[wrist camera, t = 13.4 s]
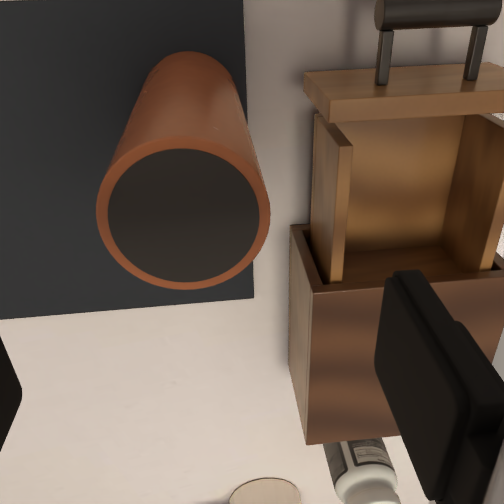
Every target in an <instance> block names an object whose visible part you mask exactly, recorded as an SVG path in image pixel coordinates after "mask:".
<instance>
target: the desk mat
mask: <svg viewBox="0 0 504 504" xmlns="http://www.w3.org/2000/svg"><path fill="white" fill-rule="evenodd" d="M183 51H194V52H200V53H203V54H206V55H208V56H210V57H212V58H214V59H215V60H217V61H218V62H219V63H221V64H222V65H223V66H224V67H225V68H226V69H227V71H228V72H229V73H230V75H231V77H232V79H233V80H234V83H235V85H236V88H237V92H238V95H239V99H240V102H241V105H242V109H243V112H244V116H245V119H246V122H247V126H248V120H247V94H246V67H245V40H244V13H243V0H22V1H0V320H2V319H14V318H26V317H37V316H49V315H61V314H73V313H85V312H97V311H108V310H120V309H132V308H144V307H156V306H167V305H179V304H191V303H203V302H215V301H226V300H238V299H250V298H254V282H253V261H252V262H251V263H250V264H249V265H248V266H247V267H246V268H245V269H243V270H242V271H241V272H240V273H238V274H237V275H235V276H234V277H232V278H230V279H228V280H226V281H224V282H222V283H219V284H216V285H214V286H210V287H206V288H200V289H190V290H180V289H170V288H165V287H161V286H157V285H154V284H151V283H149V282H146V281H144V280H142V279H140V278H138V277H136V276H134V275H133V274H131V273H130V272H129V271H127V270H126V269H125V268H124V267H122V266H121V265H120V264H119V263H118V262H117V261H116V260H115V258H114V257H113V256H112V255H111V254H110V252H109V251H108V249H107V247H106V246H105V244H104V242H103V240H102V238H101V235H100V232H99V229H98V226H97V219H96V202H97V195H98V192H99V189H100V186H101V183H102V181H103V178H104V176H105V174H106V171H107V169H108V167H109V164H110V162H111V160H112V157H113V155H114V153H115V150H116V148H117V146H118V143H119V141H120V139H121V136H122V134H123V132H124V129H125V127H126V125H127V122H128V120H129V118H130V115H131V113H132V111H133V108H134V106H135V104H136V101H137V99H138V97H139V94H140V92H141V90H142V87H143V85H144V83H145V80H146V78H147V76H148V74H149V73H150V71H151V70H152V68H153V67H154V66H155V65H156V64H157V63H158V62H159V61H160V60H162V59H163V58H165V57H167V56H169V55H171V54H174V53H177V52H183Z"/></svg>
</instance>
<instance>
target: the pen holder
mask: <svg viewBox="0 0 504 504" xmlns="http://www.w3.org/2000/svg"><path fill="white" fill-rule="evenodd" d="M270 214H271V213H270V203H269V199H268V194H267V191H266V187H265V184H264V181H263V177H262V174H261V170H260V167H259V163H258V160H257V157H256V153H255V150H254V146H253V143H252V140H251V136H250V133H249V129H248V126H247V122H246V119H245V116H244V112H243V109H242V105H241V102H240V99H239V95H238V92H237V88H236V85H235V83H234V80H233V79H232V77H231V75H230V73H229V72H228V71H227V69H226V68H225V67H224V66H223V65H222V64H221V63H219V62H218V61H217V60H215V59H214V58H212V57H210V56H208V55H206V54H203V53H200V52H194V51H183V52H177V53H174V54H171V55H169V56H167V57H165V58H163V59H162V60H160V61H159V62H158V63H157V64H156V65H155V66H154V67H153V68H152V70H151V71H150V73H149V74H148V76H147V78H146V80H145V83H144V85H143V87H142V90H141V92H140V94H139V97H138V99H137V101H136V104H135V106H134V108H133V111H132V113H131V115H130V118H129V120H128V122H127V125H126V127H125V129H124V132H123V134H122V136H121V139H120V141H119V143H118V146H117V148H116V150H115V153H114V155H113V157H112V160H111V162H110V164H109V167H108V169H107V171H106V174H105V176H104V178H103V181H102V183H101V186H100V189H99V192H98V195H97V202H96V219H97V226H98V229H99V232H100V235H101V238H102V240H103V242H104V244H105V246H106V247H107V249H108V251H109V252H110V254H111V255H112V256H113V257H114V258H115V260H116V261H117V262H118V263H119V264H120V265H121V266H122V267H124V268H125V269H126V270H127V271H129V272H130V273H131V274H133V275H134V276H136V277H138V278H140V279H142V280H144V281H146V282H149V283H151V284H154V285H157V286H161V287H165V288H170V289H180V290H190V289H200V288H206V287H210V286H214V285H216V284H219V283H222V282H224V281H226V280H228V279H230V278H232V277H234V276H235V275H237V274H238V273H240V272H241V271H242V270H243V269H245V268H246V267H247V266H248V265H249V264H250V263H251V262H252V261H253V260H254V258H255V257H256V256H257V254H258V253H259V251H260V250H261V248H262V246H263V244H264V242H265V240H266V237H267V234H268V230H269V225H270Z"/></svg>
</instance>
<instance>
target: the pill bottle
mask: <svg viewBox="0 0 504 504" xmlns="http://www.w3.org/2000/svg"><path fill="white" fill-rule="evenodd" d="M323 446H324V450H325V454H326V458H327V462H328V466H329V470H330V474H331V477H332V481H333V485H334V489H335V492H336V494H337V496H338V498H339V499H340V500H341V501H342V502H343V503H344V504H401V502H400V499H399V497H398V495H397V494H396V493H395V491H396V488H397V476H396V473H395V470H394V468H393V465H392V463H391V460H390V458H389V455H388V453H387V450H386V448H385V445H384V442H383V440H382V437H381V438H371V439H362V440H352V441H343V442H333V443H324V444H323Z"/></svg>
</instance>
